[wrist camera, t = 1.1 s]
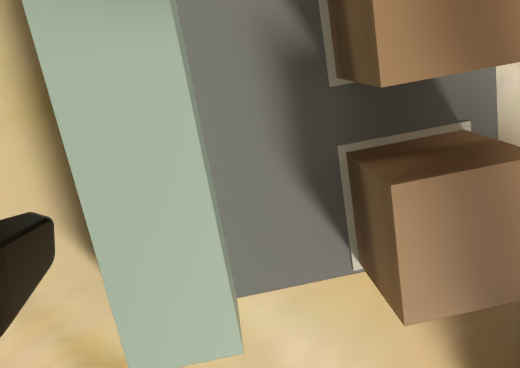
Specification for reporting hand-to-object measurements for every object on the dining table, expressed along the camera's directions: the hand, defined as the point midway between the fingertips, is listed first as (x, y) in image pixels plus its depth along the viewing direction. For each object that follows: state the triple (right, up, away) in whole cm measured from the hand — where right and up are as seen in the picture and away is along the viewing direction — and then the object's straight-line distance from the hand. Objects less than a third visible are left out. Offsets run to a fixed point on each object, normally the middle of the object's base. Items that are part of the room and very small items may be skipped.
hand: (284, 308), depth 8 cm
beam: (-5, +3, +11) cm, 12 cm away
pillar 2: (+6, +2, +12) cm, 14 cm away
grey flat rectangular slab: (+1, +5, +11) cm, 12 cm away
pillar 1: (+5, +9, +10) cm, 14 cm away
